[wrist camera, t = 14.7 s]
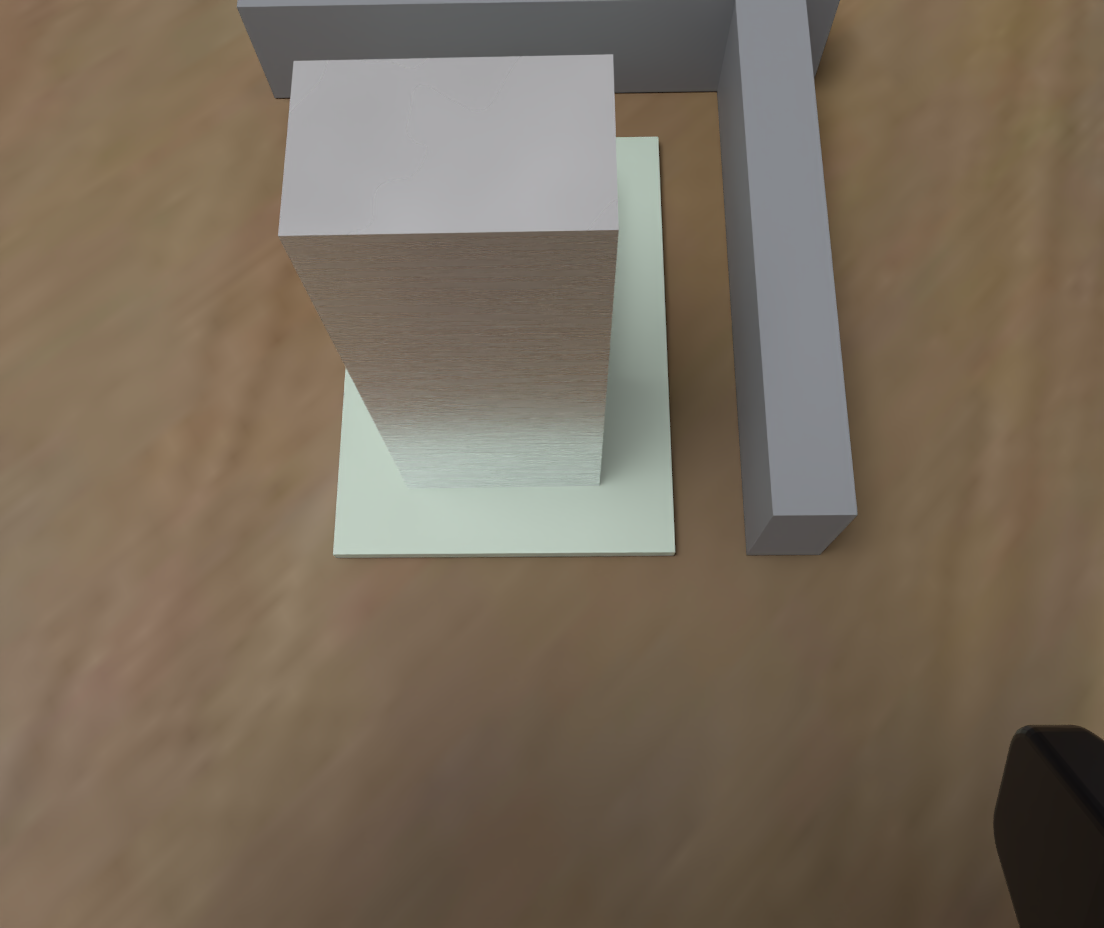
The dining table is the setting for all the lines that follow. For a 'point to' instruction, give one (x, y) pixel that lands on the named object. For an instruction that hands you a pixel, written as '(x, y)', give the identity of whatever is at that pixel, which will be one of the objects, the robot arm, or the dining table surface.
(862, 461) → the dining table surface
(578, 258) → the white l-shaped block
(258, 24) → the corner bracket
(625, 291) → the mat
